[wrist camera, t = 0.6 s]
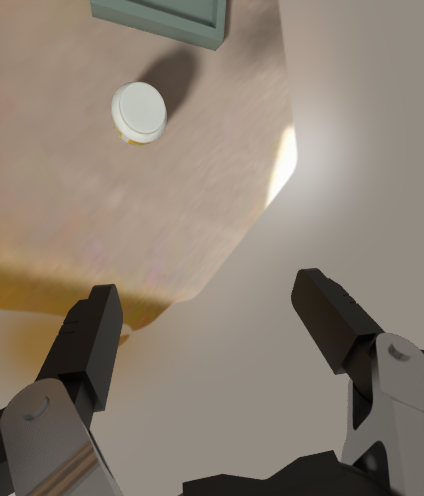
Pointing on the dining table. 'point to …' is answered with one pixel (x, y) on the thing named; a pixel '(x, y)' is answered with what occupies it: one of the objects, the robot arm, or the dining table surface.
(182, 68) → the dining table surface
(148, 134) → the supplement bottle
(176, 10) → the tray
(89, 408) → the robot arm
